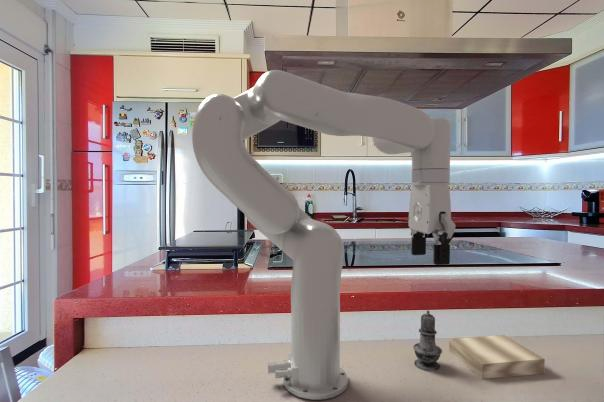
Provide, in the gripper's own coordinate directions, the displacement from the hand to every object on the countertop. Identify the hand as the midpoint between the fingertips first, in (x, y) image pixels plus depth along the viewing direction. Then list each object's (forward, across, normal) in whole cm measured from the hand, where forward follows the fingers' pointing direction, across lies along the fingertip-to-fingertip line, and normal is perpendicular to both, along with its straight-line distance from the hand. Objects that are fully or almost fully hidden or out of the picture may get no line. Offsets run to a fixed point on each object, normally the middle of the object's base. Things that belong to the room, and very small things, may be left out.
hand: (429, 259), depth 78 cm
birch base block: (+23, +1, +15) cm, 27 cm away
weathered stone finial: (+23, 0, 0) cm, 23 cm away
